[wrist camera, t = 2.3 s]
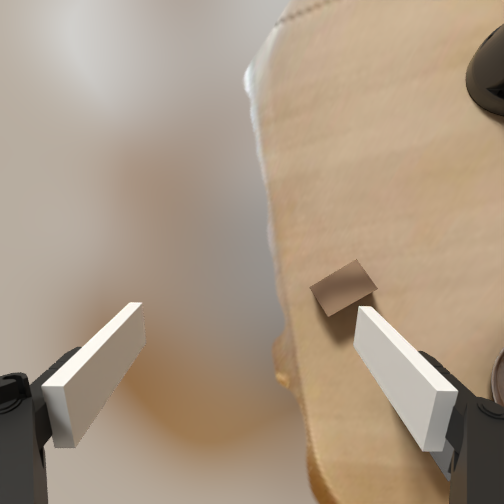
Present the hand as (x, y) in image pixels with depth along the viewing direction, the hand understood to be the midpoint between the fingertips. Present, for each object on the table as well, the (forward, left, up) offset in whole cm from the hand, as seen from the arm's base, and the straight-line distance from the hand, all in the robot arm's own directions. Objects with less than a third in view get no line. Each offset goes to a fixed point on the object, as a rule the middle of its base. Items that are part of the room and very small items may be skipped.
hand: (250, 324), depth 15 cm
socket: (-7, -2, -30) cm, 31 cm away
